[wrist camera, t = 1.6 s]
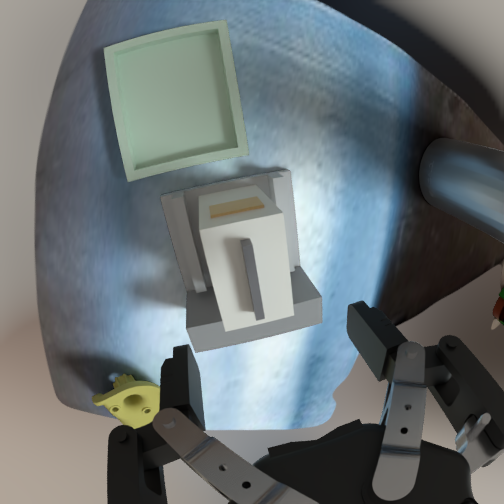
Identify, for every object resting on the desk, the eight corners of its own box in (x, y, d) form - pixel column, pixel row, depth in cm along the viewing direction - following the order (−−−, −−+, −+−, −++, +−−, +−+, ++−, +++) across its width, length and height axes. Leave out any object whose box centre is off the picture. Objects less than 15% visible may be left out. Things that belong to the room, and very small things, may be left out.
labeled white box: (255, 182, 26) (287, 214, 17) (267, 262, 29) (298, 323, 20) (198, 193, 25) (198, 233, 16) (216, 273, 29) (227, 340, 20)
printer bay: (287, 169, 27) (315, 183, 20) (299, 285, 32) (322, 322, 26) (161, 194, 25) (149, 217, 19) (194, 309, 31) (195, 352, 25)
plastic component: (200, 439, 39) (150, 465, 35) (179, 410, 45) (134, 434, 40) (156, 373, 30) (85, 408, 25) (136, 337, 35) (75, 367, 30)
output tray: (224, 27, 20) (226, 19, 18) (245, 152, 25) (249, 154, 23) (110, 53, 19) (103, 48, 17) (132, 178, 24) (127, 182, 22)
